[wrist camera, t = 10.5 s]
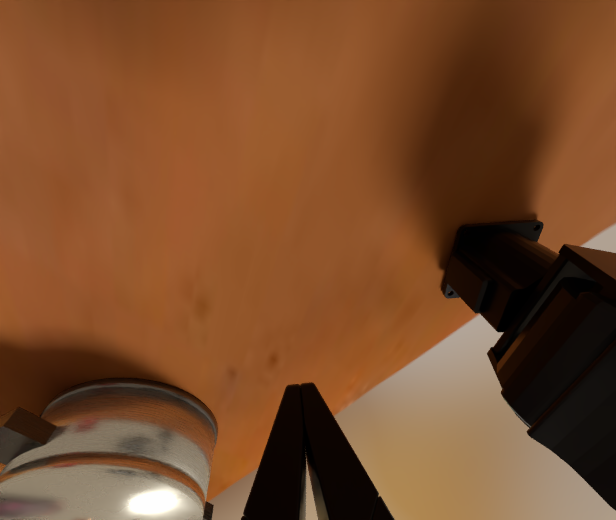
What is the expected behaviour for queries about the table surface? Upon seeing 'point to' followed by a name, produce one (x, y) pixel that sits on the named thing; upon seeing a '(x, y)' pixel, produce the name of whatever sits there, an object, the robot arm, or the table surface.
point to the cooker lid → (98, 490)
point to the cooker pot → (117, 427)
